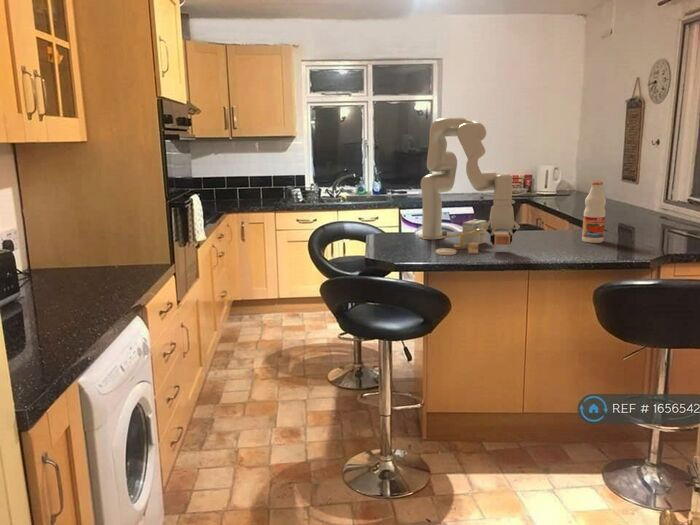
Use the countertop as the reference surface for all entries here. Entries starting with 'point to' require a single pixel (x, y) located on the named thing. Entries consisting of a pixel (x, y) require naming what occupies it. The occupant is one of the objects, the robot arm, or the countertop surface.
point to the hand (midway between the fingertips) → (501, 243)
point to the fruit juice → (594, 214)
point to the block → (473, 247)
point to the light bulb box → (474, 237)
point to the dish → (445, 251)
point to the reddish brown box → (501, 239)
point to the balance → (461, 246)
